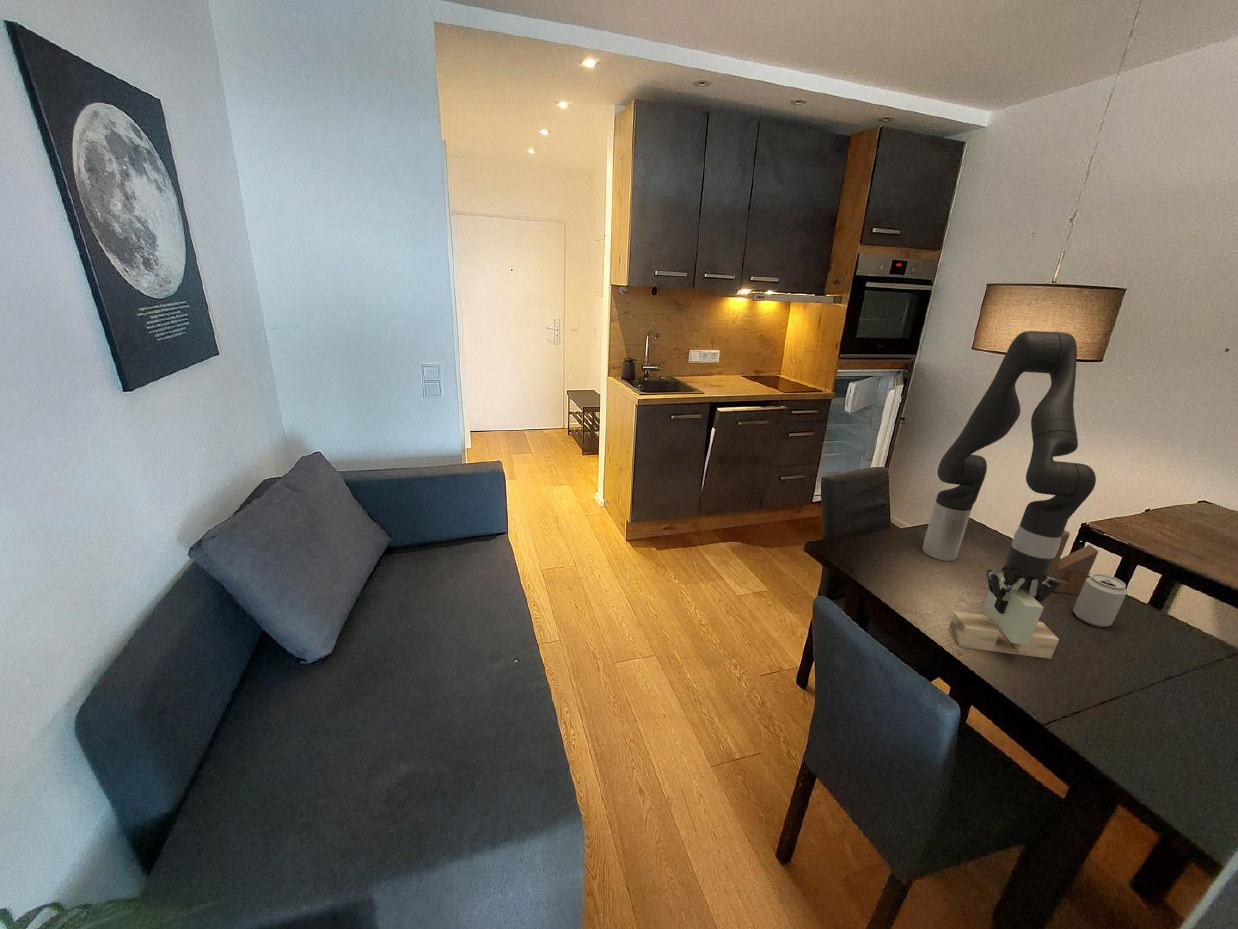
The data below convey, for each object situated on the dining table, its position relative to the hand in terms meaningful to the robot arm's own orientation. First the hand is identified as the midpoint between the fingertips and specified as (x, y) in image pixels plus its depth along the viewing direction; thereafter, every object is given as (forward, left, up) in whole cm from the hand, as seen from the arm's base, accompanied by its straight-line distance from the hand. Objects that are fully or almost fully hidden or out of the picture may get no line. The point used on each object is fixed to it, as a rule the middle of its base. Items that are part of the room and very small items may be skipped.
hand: (1009, 612), depth 110 cm
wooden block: (-28, +28, -9) cm, 41 cm away
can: (-15, +29, -9) cm, 34 cm away
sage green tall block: (0, 0, -4) cm, 4 cm away
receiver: (0, 0, -9) cm, 9 cm away
